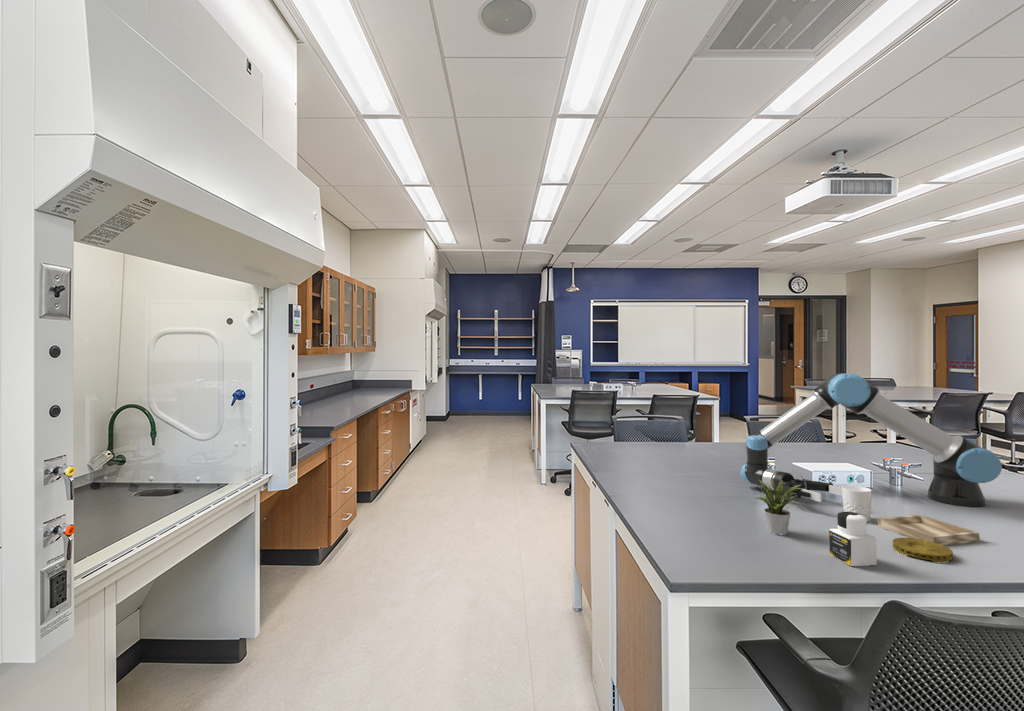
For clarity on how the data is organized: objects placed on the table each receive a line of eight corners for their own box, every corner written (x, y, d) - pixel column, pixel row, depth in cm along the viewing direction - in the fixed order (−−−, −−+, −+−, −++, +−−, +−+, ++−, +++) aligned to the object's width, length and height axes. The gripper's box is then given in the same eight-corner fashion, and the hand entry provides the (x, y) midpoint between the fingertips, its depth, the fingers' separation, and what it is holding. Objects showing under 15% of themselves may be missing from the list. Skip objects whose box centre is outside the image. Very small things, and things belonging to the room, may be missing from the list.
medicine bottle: (828, 555, 122) (828, 509, 122) (854, 554, 123) (853, 509, 123) (851, 567, 115) (849, 518, 115) (877, 565, 115) (876, 517, 116)
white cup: (864, 524, 145) (863, 492, 145) (837, 517, 152) (836, 487, 152) (877, 520, 148) (876, 489, 148) (850, 513, 155) (849, 484, 155)
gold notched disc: (890, 554, 123) (889, 546, 123) (895, 542, 131) (895, 534, 131) (952, 568, 114) (951, 559, 114) (953, 554, 123) (953, 546, 123)
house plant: (813, 545, 128) (812, 486, 129) (757, 539, 133) (756, 482, 134) (801, 528, 142) (799, 475, 142) (751, 523, 147) (750, 472, 147)
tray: (919, 522, 146) (919, 514, 146) (979, 541, 130) (979, 532, 130) (877, 526, 143) (877, 518, 143) (933, 546, 127) (933, 537, 127)
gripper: (802, 487, 180) (859, 502, 160) (754, 494, 172) (809, 511, 152) (802, 468, 180) (859, 480, 161) (754, 474, 172) (808, 488, 152)
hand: (835, 495), depth 156 cm, fingers open, 13 cm apart
